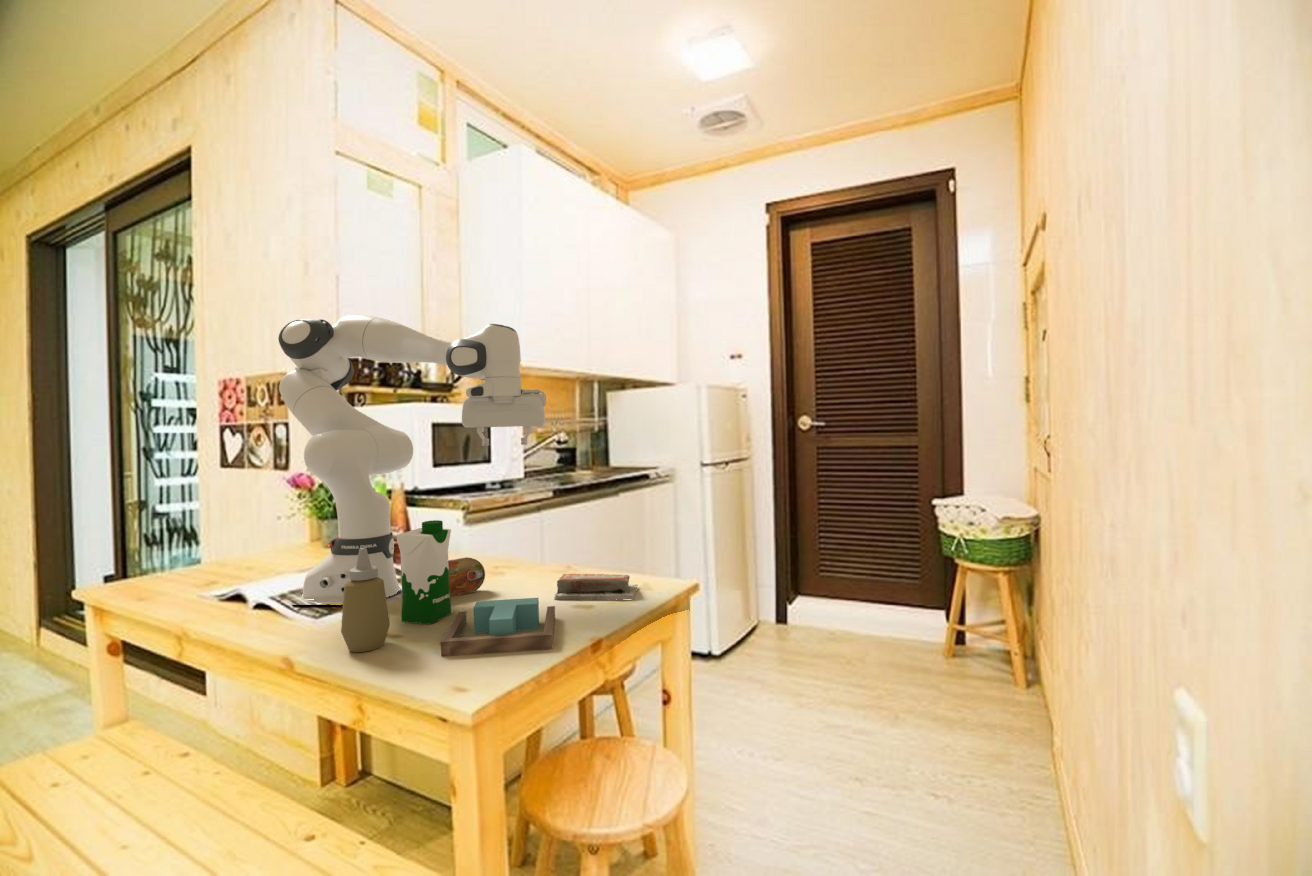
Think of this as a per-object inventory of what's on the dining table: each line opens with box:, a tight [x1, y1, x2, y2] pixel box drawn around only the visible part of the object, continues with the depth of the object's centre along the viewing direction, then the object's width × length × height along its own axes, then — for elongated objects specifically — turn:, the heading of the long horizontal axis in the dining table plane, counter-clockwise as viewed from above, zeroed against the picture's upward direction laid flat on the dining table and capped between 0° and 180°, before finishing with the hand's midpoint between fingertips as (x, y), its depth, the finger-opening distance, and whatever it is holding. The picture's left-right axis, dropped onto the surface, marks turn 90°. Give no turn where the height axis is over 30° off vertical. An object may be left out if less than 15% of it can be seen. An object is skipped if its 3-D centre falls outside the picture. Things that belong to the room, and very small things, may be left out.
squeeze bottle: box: [340, 548, 391, 653], centre depth 111 cm, size 8×8×18 cm
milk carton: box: [395, 519, 452, 625], centre depth 127 cm, size 9×9×20 cm
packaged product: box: [553, 573, 638, 601], centre depth 142 cm, size 18×5×10 cm
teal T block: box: [473, 597, 540, 636], centre depth 116 cm, size 12×12×5 cm
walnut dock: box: [440, 605, 556, 657], centre depth 116 cm, size 19×16×2 cm
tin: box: [448, 556, 486, 598], centre depth 143 cm, size 15×3×8 cm, turn 119°
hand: (505, 445), depth 153 cm, fingers open, 8 cm apart
